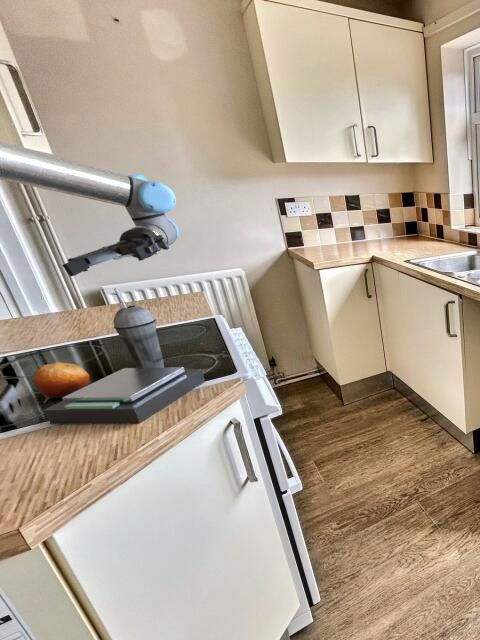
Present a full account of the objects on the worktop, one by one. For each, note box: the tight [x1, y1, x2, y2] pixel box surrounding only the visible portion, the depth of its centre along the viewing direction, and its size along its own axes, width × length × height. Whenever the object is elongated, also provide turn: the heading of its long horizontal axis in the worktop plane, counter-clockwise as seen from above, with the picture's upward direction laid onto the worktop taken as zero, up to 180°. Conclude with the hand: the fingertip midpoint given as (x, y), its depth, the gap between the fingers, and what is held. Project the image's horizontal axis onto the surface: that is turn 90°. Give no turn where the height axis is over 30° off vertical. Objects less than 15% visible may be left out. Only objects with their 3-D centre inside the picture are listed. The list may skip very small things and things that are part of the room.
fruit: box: [32, 361, 90, 404], centre depth 87 cm, size 8×8×8 cm
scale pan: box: [61, 366, 185, 402], centre depth 83 cm, size 13×13×1 cm
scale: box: [43, 368, 206, 425], centre depth 84 cm, size 17×17×4 cm
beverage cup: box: [113, 287, 165, 368], centre depth 95 cm, size 7×7×20 cm
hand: (103, 262), depth 93 cm, fingers open, 13 cm apart
